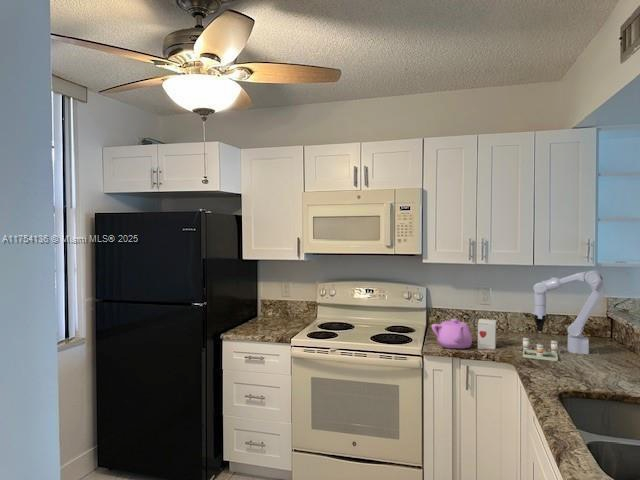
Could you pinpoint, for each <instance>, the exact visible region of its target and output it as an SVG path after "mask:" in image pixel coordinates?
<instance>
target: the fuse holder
mask: <svg viewBox="0 0 640 480" xmlns="http://www.w3.org/2000/svg"><path fill="white" fill-rule="evenodd" d="M529 350H536V351H537V346H535V347H534V348H532V346H529ZM519 351H522V352H523V345H520V347H519ZM543 351H545V352H551V348H548V350H546V348H544V347H543ZM557 356H562V353H561V350H560V349H557Z"/></svg>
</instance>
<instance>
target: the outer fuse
mask: <svg viewBox="0 0 640 480" xmlns="http://www.w3.org/2000/svg"><path fill="white" fill-rule="evenodd" d="M522 348H523V349H527V350H529V349H530V338H529V337H523V338H522Z"/></svg>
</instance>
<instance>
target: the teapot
mask: <svg viewBox="0 0 640 480" xmlns="http://www.w3.org/2000/svg"><path fill="white" fill-rule="evenodd" d="M437 328H438V331H437ZM431 330H432V332H433V333H434V335H436V339H437V342H438V344H439V345H440V346H441V347H444V348H447V349H449V350H452V349H462V350H465V349H467V348H470V347H471V346H472V343H473V338H472V333H471V330H470V328H469V326H468V324H467V323H465V322H463V321H458V319H457V318H451V319H450V320H445V321H441V322H440V324H439V323H433V324H431Z"/></svg>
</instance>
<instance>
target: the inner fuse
mask: <svg viewBox="0 0 640 480" xmlns="http://www.w3.org/2000/svg"><path fill="white" fill-rule="evenodd" d="M558 344H559V343H558V341H557V340H552V339H551V340H550V351H551V352H554V353H557V352H558Z"/></svg>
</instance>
